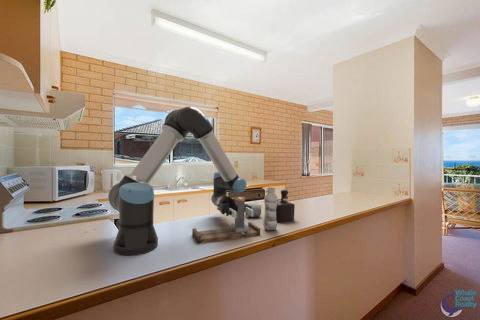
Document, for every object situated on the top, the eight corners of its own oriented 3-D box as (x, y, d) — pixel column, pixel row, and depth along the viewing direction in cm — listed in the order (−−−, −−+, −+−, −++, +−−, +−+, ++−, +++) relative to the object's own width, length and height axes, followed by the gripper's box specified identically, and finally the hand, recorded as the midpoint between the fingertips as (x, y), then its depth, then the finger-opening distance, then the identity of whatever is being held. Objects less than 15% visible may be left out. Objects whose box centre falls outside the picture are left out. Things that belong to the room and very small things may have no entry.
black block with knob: (267, 217, 130) (268, 186, 130) (284, 216, 134) (284, 185, 134) (282, 225, 116) (283, 190, 115) (300, 223, 120) (301, 189, 119)
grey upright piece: (236, 233, 98) (236, 199, 98) (230, 228, 105) (230, 196, 104) (248, 231, 101) (249, 198, 100) (242, 226, 107) (242, 195, 107)
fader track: (197, 243, 90) (197, 236, 90) (192, 235, 99) (192, 228, 99) (260, 235, 101) (260, 228, 101) (250, 228, 110) (250, 222, 110)
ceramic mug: (261, 218, 129) (262, 204, 129) (247, 218, 127) (247, 204, 127) (256, 213, 139) (256, 201, 139) (243, 214, 138) (243, 201, 138)
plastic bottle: (272, 227, 113) (273, 186, 113) (279, 231, 107) (280, 188, 107) (260, 228, 111) (261, 187, 111) (267, 232, 105) (268, 189, 104)
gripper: (243, 209, 123) (264, 220, 102) (206, 212, 115) (221, 225, 94) (243, 195, 123) (265, 203, 102) (207, 197, 115) (222, 207, 94)
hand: (244, 214), depth 98 cm, fingers open, 7 cm apart
